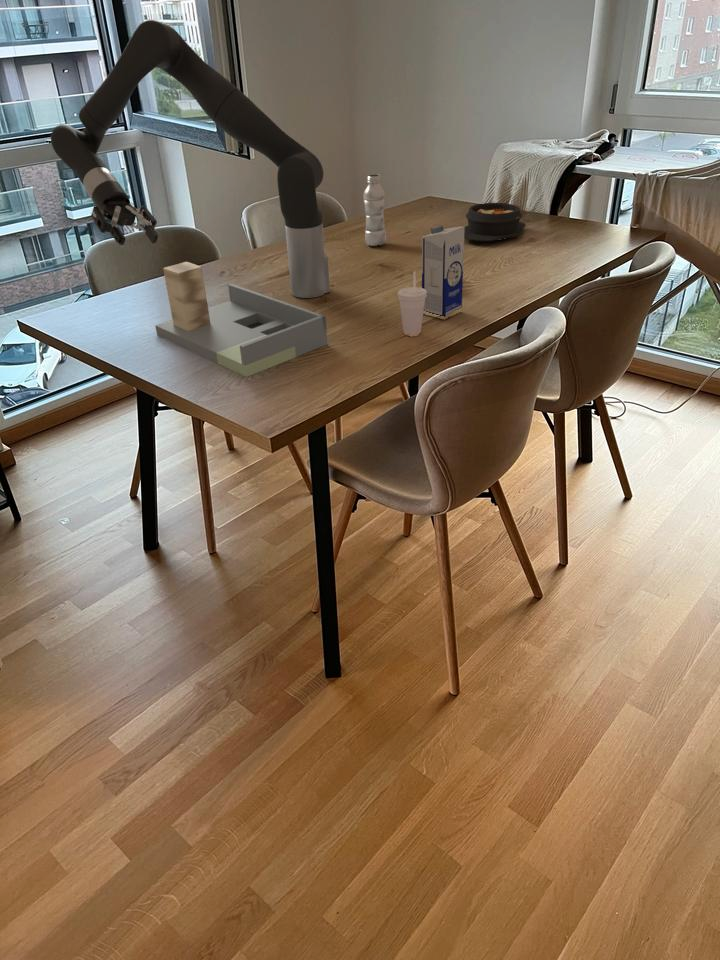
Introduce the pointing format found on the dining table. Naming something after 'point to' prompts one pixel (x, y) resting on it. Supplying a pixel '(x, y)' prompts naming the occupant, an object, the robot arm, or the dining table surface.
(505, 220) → the casserole
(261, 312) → the trap deck
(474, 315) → the dining table surface
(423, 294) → the smoothie
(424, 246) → the milk carton
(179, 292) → the maple block
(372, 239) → the plastic bottle
